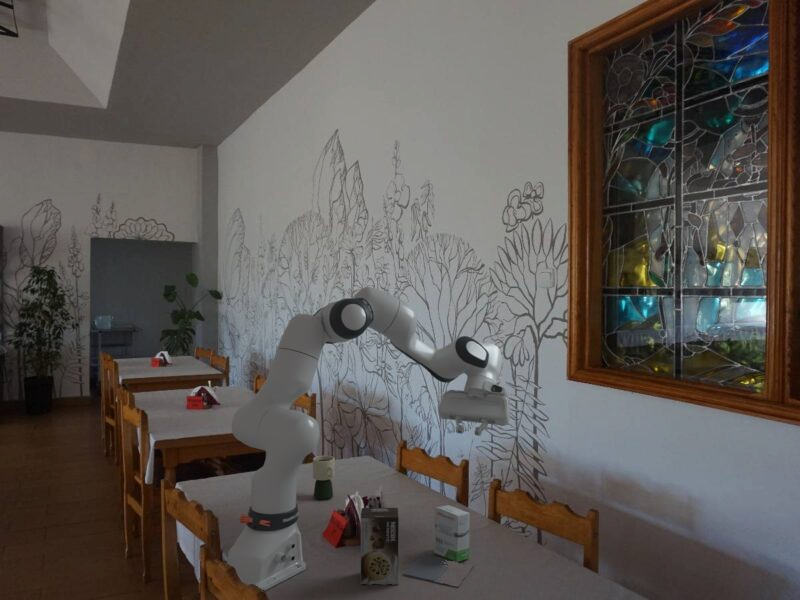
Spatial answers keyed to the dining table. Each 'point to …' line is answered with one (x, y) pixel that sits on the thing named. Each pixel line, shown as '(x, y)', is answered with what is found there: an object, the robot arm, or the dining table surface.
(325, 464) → the character mug
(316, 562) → the dining table surface
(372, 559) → the coffee box
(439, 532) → the ink box
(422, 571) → the felt mat
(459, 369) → the robot arm
